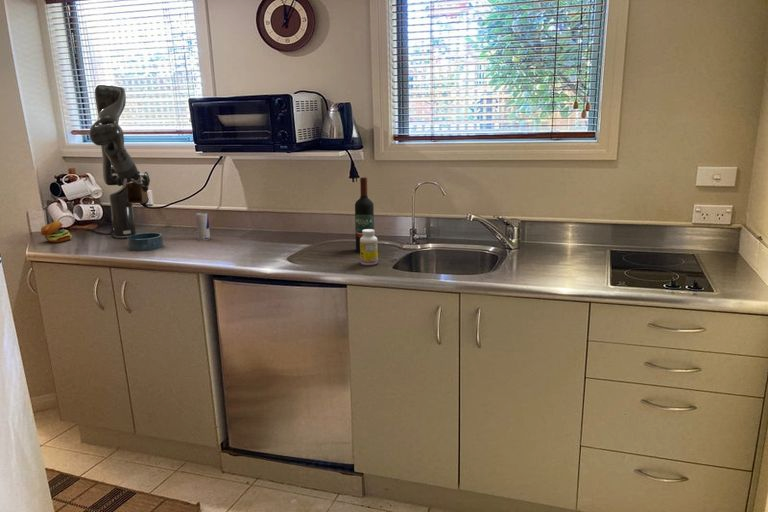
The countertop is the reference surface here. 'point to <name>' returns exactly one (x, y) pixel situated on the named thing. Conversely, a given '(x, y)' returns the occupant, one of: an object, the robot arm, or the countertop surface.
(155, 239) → the bowl
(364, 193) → the wine bottle
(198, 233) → the energy drink
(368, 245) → the supplement bottle
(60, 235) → the cheeseburger
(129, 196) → the brown block
